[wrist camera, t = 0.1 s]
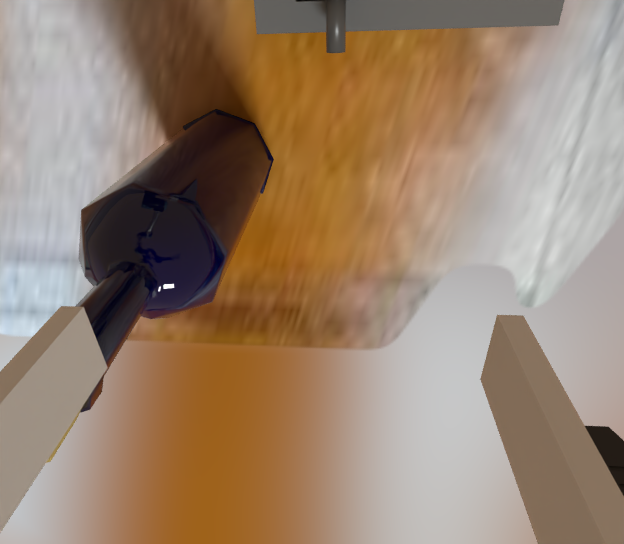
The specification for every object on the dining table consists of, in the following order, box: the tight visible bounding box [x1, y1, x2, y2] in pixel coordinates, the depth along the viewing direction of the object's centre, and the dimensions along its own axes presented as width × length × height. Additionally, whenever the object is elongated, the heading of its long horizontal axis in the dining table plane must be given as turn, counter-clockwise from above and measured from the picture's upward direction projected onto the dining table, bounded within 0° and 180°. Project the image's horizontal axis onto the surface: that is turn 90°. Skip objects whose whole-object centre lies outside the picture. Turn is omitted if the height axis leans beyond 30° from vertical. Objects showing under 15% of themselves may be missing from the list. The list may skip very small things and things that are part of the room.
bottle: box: [46, 109, 274, 463], centre depth 27 cm, size 9×9×30 cm
